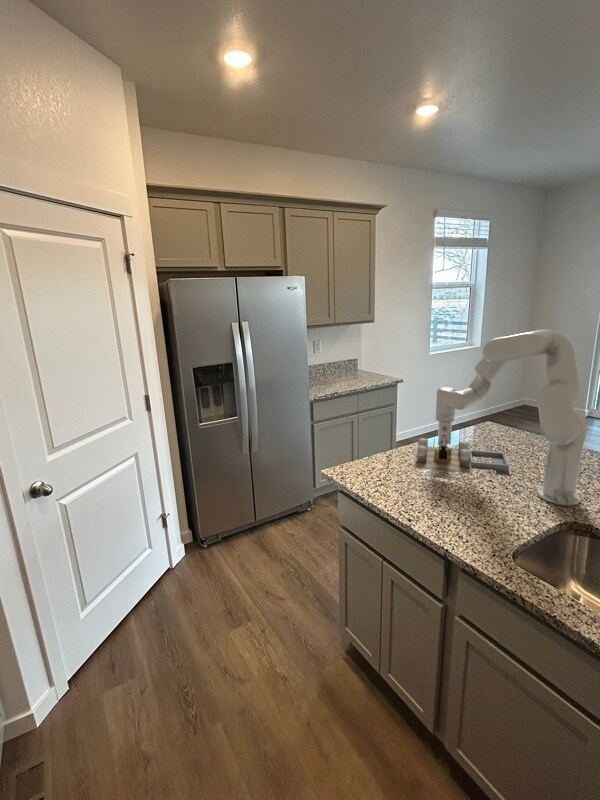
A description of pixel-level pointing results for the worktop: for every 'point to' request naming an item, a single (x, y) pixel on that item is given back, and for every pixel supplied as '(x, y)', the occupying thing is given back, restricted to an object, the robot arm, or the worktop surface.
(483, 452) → the tray
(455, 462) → the board
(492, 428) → the worktop surface
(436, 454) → the faceted yellow gem
